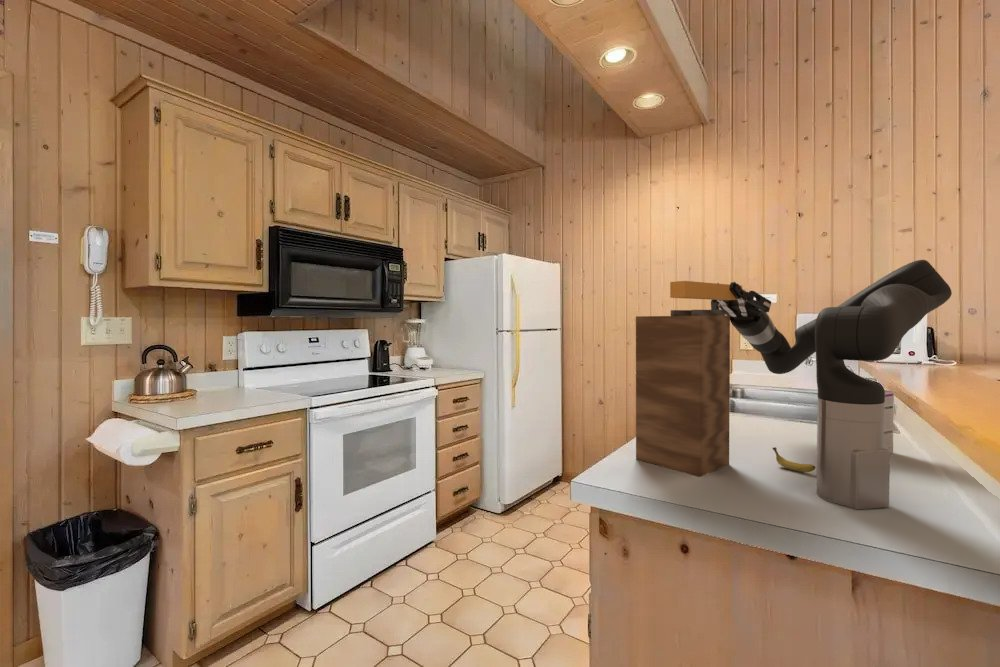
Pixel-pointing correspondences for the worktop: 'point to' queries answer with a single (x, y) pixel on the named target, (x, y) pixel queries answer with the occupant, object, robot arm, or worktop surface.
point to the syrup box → (888, 420)
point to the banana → (793, 464)
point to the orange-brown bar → (700, 290)
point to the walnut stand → (683, 390)
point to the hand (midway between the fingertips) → (723, 285)
